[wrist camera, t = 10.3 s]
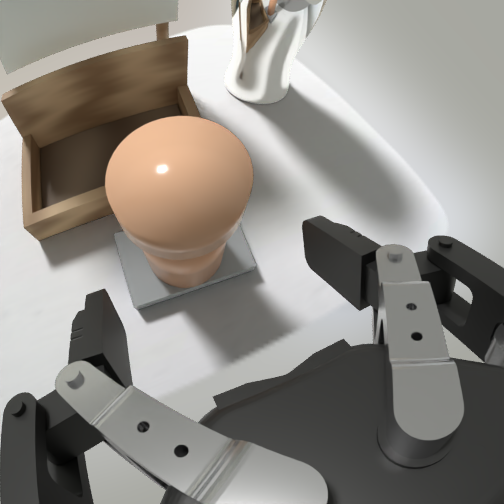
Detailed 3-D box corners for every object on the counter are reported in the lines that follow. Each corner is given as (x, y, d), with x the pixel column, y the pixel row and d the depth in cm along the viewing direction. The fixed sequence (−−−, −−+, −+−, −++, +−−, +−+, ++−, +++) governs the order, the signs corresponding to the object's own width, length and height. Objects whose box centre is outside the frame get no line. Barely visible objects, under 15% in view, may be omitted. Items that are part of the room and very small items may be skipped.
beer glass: (292, 69, 29) (337, -55, 15) (291, 115, 26) (350, -33, 12) (225, 57, 28) (247, -74, 14) (213, 101, 25) (234, -58, 11)
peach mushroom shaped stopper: (156, 307, 18) (123, 264, 10) (131, 225, 20) (96, 138, 11) (242, 276, 20) (277, 213, 11) (211, 199, 21) (223, 104, 13)
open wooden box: (39, 240, 19) (-53, 150, 8) (34, 115, 22) (-7, 21, 12) (217, 181, 23) (236, 50, 12) (173, 71, 26) (174, -35, 15)
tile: (137, 309, 19) (133, 307, 18) (117, 239, 20) (113, 233, 19) (253, 269, 21) (256, 265, 20) (226, 204, 22) (228, 197, 21)
